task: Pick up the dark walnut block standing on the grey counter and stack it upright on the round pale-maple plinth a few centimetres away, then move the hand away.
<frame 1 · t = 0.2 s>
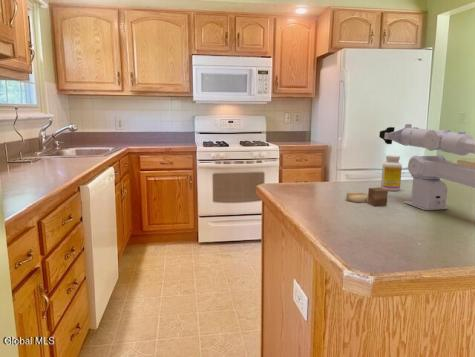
hand: (390, 134, 124), 21 cm above the table, tool horizontal, fingers open, 7 cm apart
walnut block: (376, 204, 111), on the table
maple plinth: (356, 200, 116), on the table
supplement bottle: (390, 190, 134), on the table
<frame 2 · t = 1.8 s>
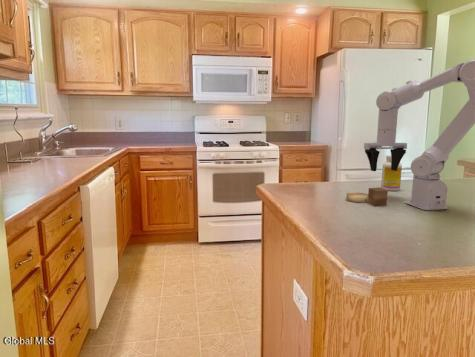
hand: (383, 170, 118), 9 cm above the table, tool pointing down, fingers open, 7 cm apart
nothing on the table moved.
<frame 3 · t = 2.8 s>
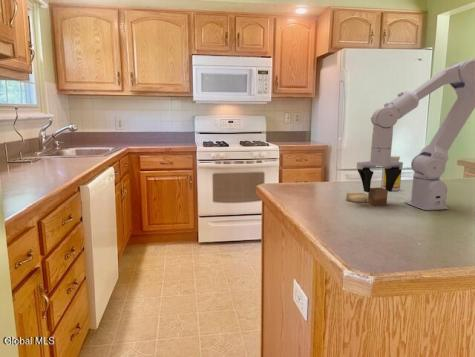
hand: (377, 191, 110), 4 cm above the table, tool pointing down, fingers open, 7 cm apart
nothing on the table moved.
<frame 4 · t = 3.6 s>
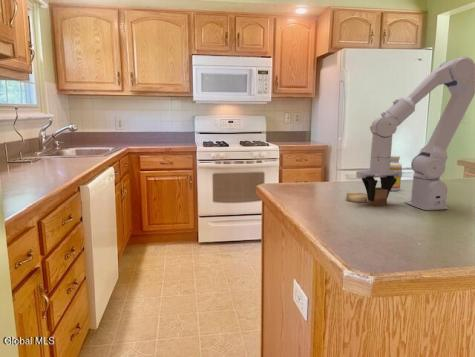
hand: (377, 200, 111), 1 cm above the table, tool pointing down, fingers closed on walnut block, 4 cm apart
walnut block: (376, 204, 111), on the table, touching gripper
everything else where it was.
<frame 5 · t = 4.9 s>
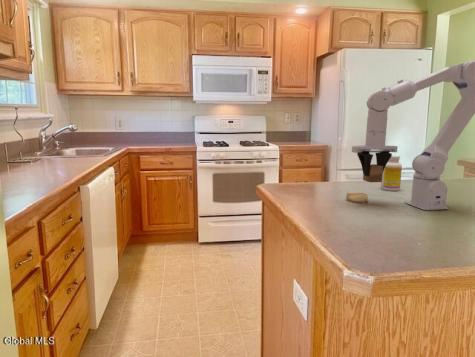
hand: (372, 175, 111), 9 cm above the table, tool pointing down, fingers closed on walnut block, 4 cm apart
walnut block: (372, 181, 111), point 7 cm above the table, touching gripper
everything else where it was.
when the fingers open (5 cm above the table, at t = 6.3 s): walnut block drops 1 cm, resting on maple plinth.
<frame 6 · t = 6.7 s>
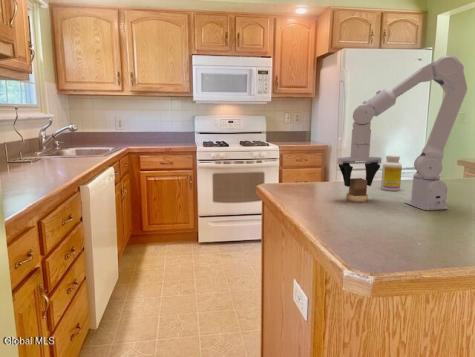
hand: (357, 185, 115), 5 cm above the table, tool pointing down, fingers open, 7 cm apart
walnut block: (357, 194, 115), point 2 cm above the table, touching maple plinth
everything else where it was.
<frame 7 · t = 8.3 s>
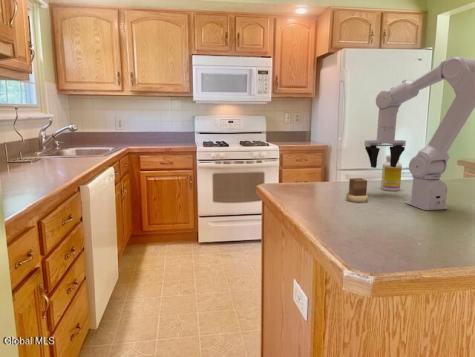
hand: (383, 167, 122), 10 cm above the table, tool pointing down, fingers open, 7 cm apart
nothing on the table moved.
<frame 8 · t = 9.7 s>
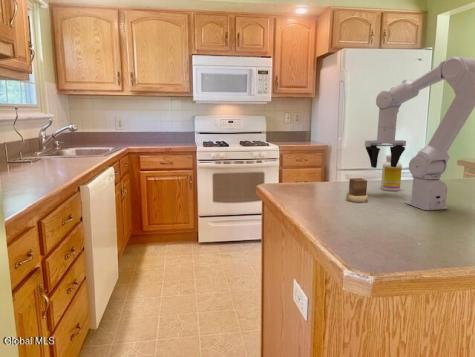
hand: (383, 167, 122), 10 cm above the table, tool pointing down, fingers open, 7 cm apart
nothing on the table moved.
at the end: walnut block 0.1 cm off-centre on the maple plinth, point 2.0 cm above the maple plinth's base; walnut block tilted 0°; the gripper is holding nothing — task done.
